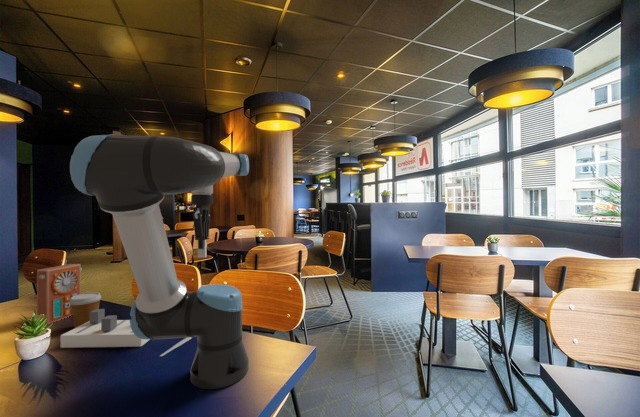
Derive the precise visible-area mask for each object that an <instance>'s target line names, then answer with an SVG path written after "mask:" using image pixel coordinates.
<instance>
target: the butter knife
mask: <svg viewBox="0 0 640 417" xmlns="http://www.w3.org/2000/svg"><path fill="white" fill-rule="evenodd" d="M191 339H193V337H187V338H183V339H182V340H180V341H179V342H177V343H176V344H174V345H172V347H170V348H169V349H167V350H166V351H164V352H163V353H161V354H160V355H159V357H163V356H165V355H167V354H168V353H170V352H171V351H173V350H174V349H176V348H178V347H180V346H182V345H183V344H186V342H188V341H190V340H191Z"/></svg>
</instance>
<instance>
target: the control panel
mask: <svg viewBox="0 0 640 417" xmlns="http://www.w3.org/2000/svg"><path fill="white" fill-rule="evenodd" d="M81 266H82V265H81V263H69V264H63V265H57V266H52V267H46V268H41V269H40V268H39V269H37V271H36V316H37V315H40V314H44V315H46V316H47V324H48V325H51V324H53V323H52V322H54V323H56V321H57V322H59V321H62V320H64V318H65V319H68V318H70V317H69V316H71V315H72V309H71V305H70V303H69V301H70V299H71V297H73V296H76V295H79V294H82V293H81V291H82V290H81V286H82V285H81V284H82V283H81V280H82V279H81V272H82V270H83V268H82V267H81ZM67 317H68V318H67ZM71 317H72V316H71ZM61 319H62V320H61Z"/></svg>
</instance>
